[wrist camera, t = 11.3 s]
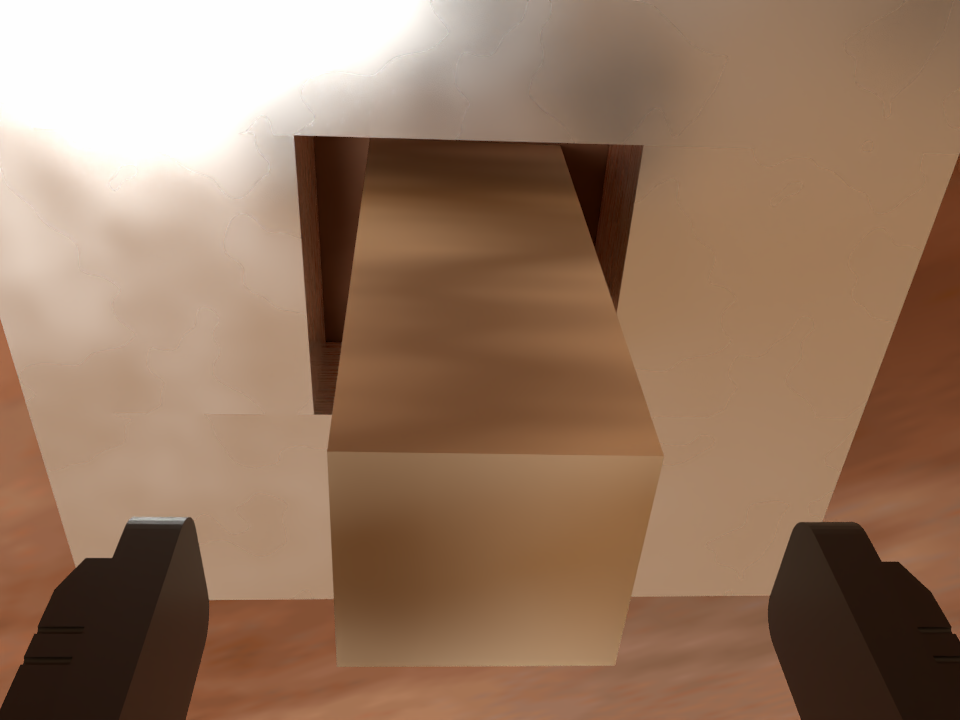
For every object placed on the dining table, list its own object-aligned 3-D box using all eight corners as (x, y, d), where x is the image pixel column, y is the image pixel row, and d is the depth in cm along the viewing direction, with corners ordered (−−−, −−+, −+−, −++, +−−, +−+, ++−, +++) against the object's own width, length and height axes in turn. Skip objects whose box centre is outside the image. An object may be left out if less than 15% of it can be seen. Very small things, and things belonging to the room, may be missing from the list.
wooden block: (560, 145, 19) (664, 455, 11) (541, 306, 21) (614, 665, 13) (370, 137, 19) (326, 451, 10) (371, 302, 21) (336, 666, 13)
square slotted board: (1000, -235, 15) (1102, -230, 13) (761, 518, 26) (794, 595, 23) (-90, -301, 14) (-189, -309, 12) (117, 519, 24) (85, 600, 22)
